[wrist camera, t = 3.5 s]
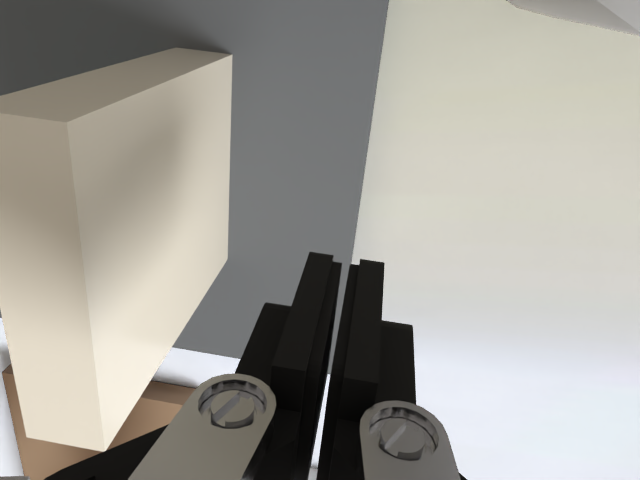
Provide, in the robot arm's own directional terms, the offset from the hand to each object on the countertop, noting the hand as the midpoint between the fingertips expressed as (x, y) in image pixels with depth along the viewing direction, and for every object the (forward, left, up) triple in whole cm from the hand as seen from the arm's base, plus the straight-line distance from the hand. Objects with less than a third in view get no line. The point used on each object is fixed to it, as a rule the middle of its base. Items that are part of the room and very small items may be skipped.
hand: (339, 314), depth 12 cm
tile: (+6, 0, -9) cm, 10 cm away
